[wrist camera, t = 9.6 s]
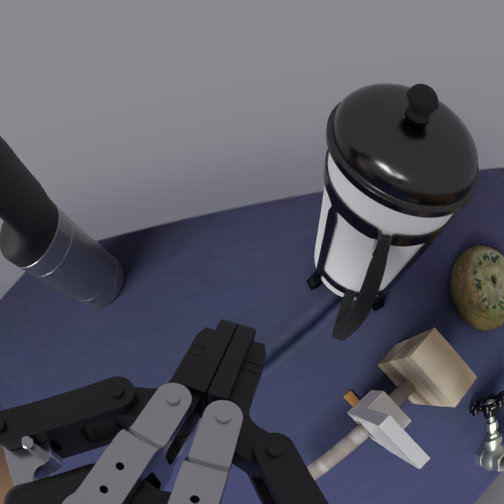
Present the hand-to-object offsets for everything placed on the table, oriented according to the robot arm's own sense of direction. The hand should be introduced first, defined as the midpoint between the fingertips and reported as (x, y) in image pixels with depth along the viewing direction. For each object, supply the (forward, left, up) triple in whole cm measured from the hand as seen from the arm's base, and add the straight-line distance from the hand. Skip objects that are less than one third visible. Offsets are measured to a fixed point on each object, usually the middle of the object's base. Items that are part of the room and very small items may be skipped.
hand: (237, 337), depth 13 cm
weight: (+35, +3, -28) cm, 44 cm away
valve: (+29, -20, -28) cm, 45 cm away
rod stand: (+10, -10, -27) cm, 31 cm away
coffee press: (+14, +10, -27) cm, 32 cm away
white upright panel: (+11, -9, -24) cm, 28 cm away
